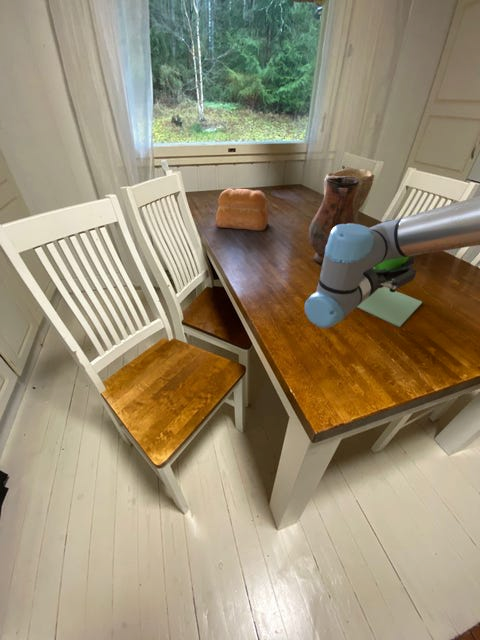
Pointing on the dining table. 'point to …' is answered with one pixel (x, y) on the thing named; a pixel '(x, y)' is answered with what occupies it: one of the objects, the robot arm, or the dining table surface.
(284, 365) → the dining table surface
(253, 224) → the bread
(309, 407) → the dining table surface
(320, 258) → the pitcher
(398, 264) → the cup
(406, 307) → the cloth
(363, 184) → the tan flared vase
